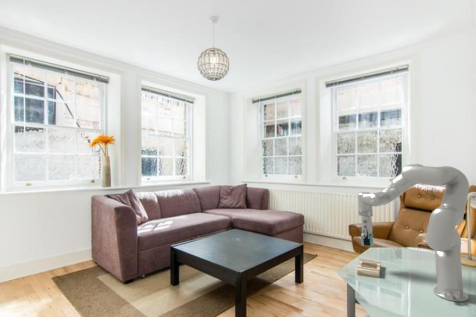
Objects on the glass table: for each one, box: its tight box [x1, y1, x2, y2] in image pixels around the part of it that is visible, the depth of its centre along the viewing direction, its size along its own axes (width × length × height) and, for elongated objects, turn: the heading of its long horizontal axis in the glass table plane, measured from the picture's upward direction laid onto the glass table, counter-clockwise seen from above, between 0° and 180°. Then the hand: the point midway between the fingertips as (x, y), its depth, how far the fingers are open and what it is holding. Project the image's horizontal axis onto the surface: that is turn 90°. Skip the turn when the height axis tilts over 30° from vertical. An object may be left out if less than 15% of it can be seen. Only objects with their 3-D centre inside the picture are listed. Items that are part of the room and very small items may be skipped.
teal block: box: [360, 232, 375, 247], centre depth 154 cm, size 6×6×6 cm
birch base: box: [356, 258, 382, 279], centre depth 153 cm, size 18×11×3 cm, turn 149°
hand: (367, 243), depth 154 cm, fingers closed on teal block, 6 cm apart
